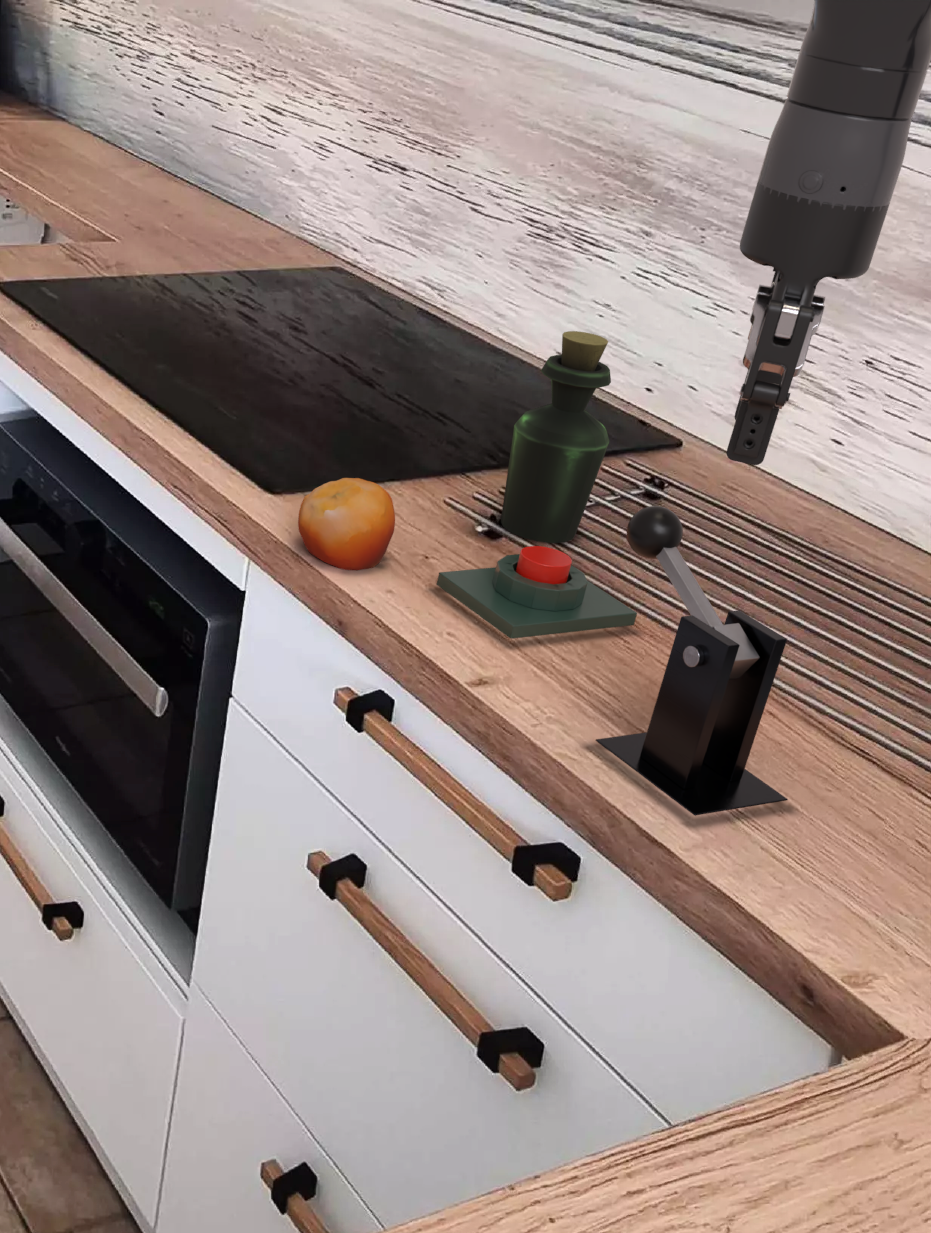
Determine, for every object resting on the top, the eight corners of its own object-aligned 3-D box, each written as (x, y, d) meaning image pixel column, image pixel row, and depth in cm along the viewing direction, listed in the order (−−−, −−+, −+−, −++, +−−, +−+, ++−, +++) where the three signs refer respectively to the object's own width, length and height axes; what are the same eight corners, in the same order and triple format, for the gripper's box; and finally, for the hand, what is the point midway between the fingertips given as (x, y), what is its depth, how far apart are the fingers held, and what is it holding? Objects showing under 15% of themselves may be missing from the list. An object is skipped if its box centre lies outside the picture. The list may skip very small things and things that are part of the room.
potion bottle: (596, 535, 161) (648, 341, 152) (562, 559, 155) (613, 358, 146) (512, 508, 165) (558, 318, 156) (475, 530, 159) (521, 334, 150)
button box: (552, 585, 149) (563, 541, 147) (630, 637, 141) (643, 591, 139) (433, 596, 145) (443, 551, 143) (507, 651, 137) (519, 604, 135)
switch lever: (607, 530, 123) (635, 496, 120) (648, 526, 124) (677, 493, 121) (699, 688, 116) (731, 656, 113) (741, 682, 117) (774, 651, 115)
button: (545, 563, 144) (550, 543, 143) (577, 584, 140) (582, 564, 140) (505, 567, 142) (510, 547, 141) (536, 588, 139) (541, 568, 138)
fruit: (428, 554, 149) (406, 482, 144) (355, 609, 147) (330, 539, 142) (367, 518, 155) (343, 448, 150) (297, 570, 153) (271, 501, 148)
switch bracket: (590, 754, 123) (634, 599, 118) (680, 741, 126) (727, 590, 121) (689, 830, 115) (741, 668, 110) (783, 814, 118) (838, 656, 113)
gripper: (893, 218, 99) (805, 489, 107) (890, 178, 111) (811, 424, 119) (753, 194, 102) (676, 461, 109) (764, 157, 114) (695, 400, 121)
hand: (746, 441), depth 114 cm, fingers open, 8 cm apart
